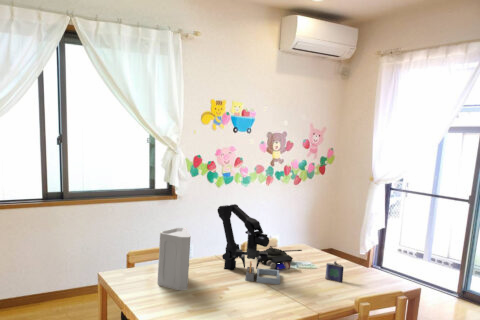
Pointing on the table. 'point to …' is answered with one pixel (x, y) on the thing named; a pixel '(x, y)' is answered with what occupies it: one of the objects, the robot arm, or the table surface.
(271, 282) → the tray
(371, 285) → the table surface
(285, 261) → the figurine character
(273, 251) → the toy tank
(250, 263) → the tan wooden block
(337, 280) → the wallet
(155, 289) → the table surface
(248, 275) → the dispenser
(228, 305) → the table surface
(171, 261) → the tall grey upright pillar
